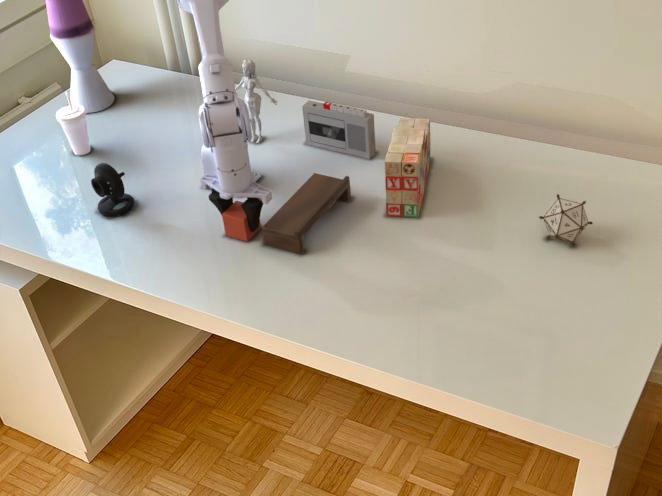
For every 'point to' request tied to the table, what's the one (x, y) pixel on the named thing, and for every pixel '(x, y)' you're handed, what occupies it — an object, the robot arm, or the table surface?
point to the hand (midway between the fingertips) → (242, 225)
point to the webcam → (110, 191)
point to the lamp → (78, 53)
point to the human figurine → (253, 96)
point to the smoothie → (75, 126)
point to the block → (237, 223)
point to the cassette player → (339, 128)
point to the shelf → (304, 211)
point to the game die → (566, 220)
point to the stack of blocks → (407, 167)
